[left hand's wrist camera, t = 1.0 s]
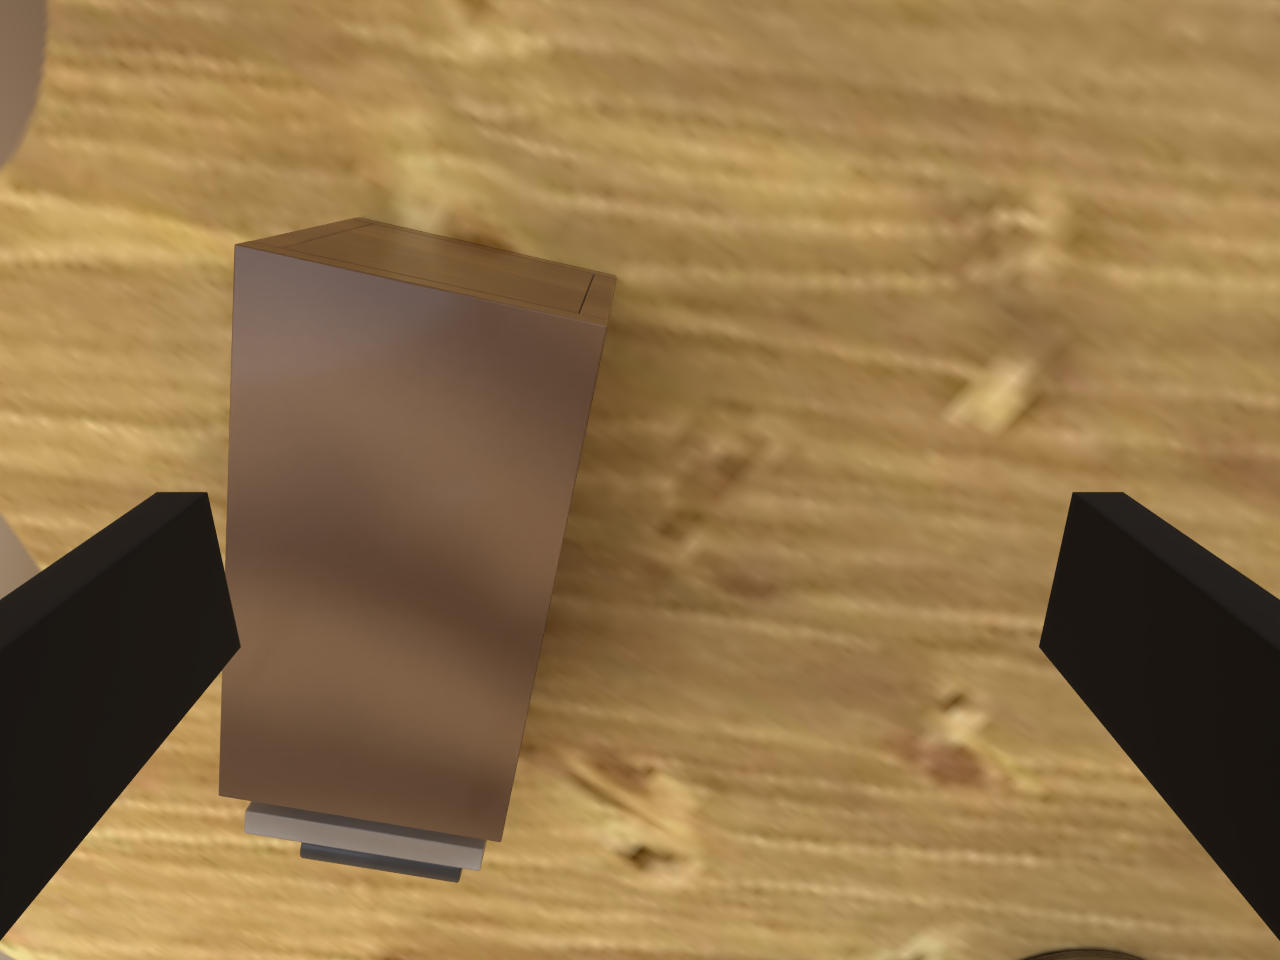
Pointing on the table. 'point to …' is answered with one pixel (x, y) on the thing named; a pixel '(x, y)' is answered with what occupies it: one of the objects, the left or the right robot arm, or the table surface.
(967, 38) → the table surface
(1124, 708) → the left robot arm
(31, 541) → the table surface
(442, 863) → the drawer
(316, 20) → the table surface
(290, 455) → the cabinet
